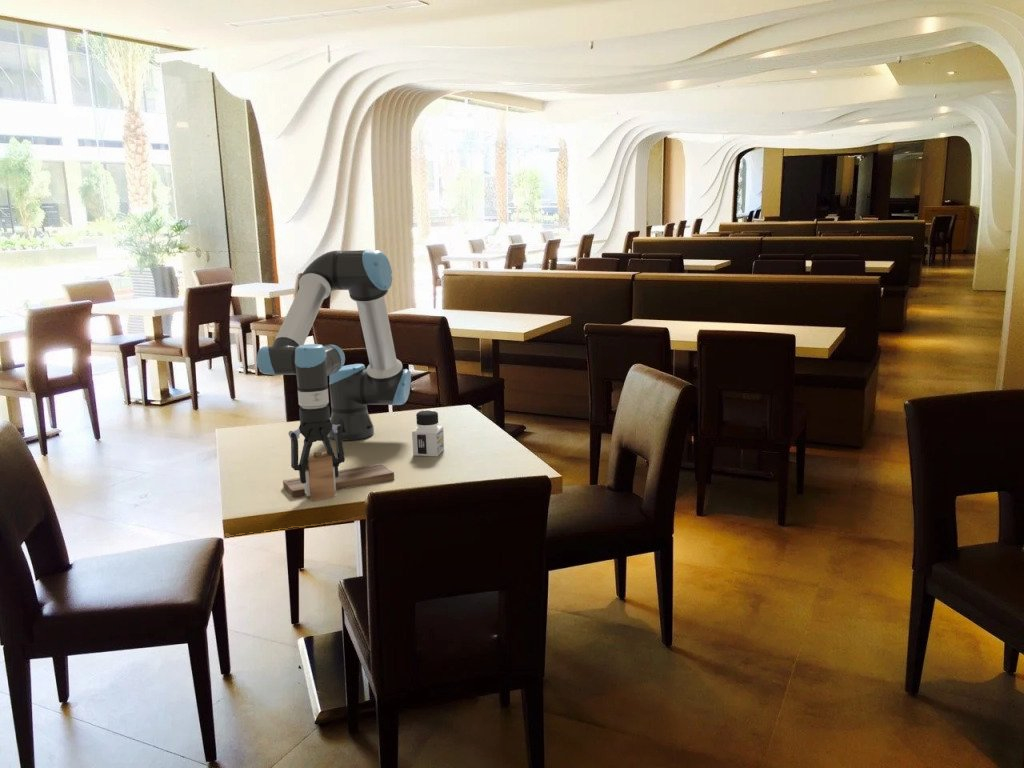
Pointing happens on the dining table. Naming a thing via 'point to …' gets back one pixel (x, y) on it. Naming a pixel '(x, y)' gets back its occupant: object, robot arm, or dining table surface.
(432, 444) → the container
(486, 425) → the dining table surface
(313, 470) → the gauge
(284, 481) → the board
